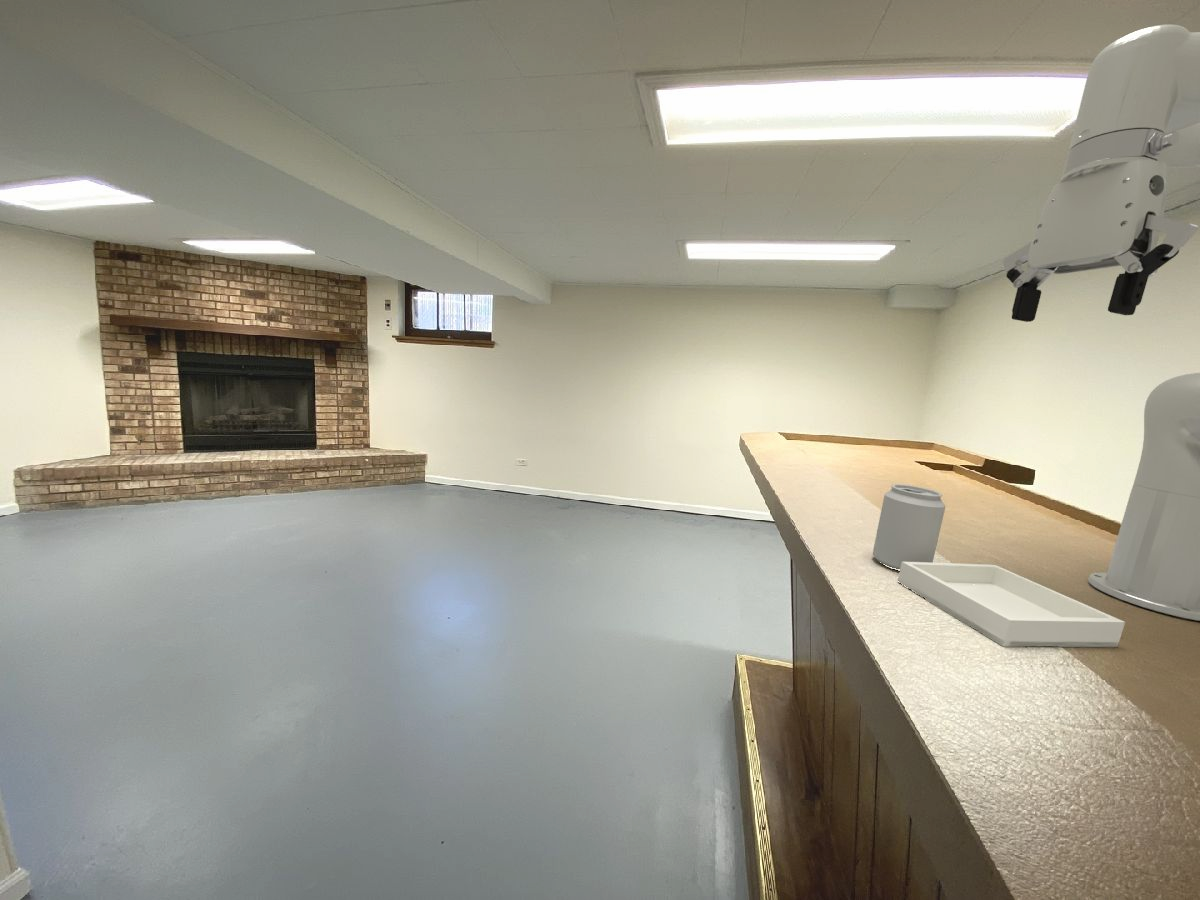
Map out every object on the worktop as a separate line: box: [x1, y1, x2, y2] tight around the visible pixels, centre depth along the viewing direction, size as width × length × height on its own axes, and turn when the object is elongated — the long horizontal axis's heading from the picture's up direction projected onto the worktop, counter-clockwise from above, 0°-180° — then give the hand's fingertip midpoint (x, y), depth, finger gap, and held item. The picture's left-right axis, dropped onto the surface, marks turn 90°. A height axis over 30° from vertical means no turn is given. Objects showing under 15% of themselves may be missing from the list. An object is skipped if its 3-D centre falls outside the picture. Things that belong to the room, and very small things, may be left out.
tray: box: [897, 562, 1126, 648], centre depth 56 cm, size 15×15×3 cm
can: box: [872, 483, 946, 569], centre depth 68 cm, size 8×8×12 cm
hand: (1067, 317), depth 56 cm, fingers open, 9 cm apart
